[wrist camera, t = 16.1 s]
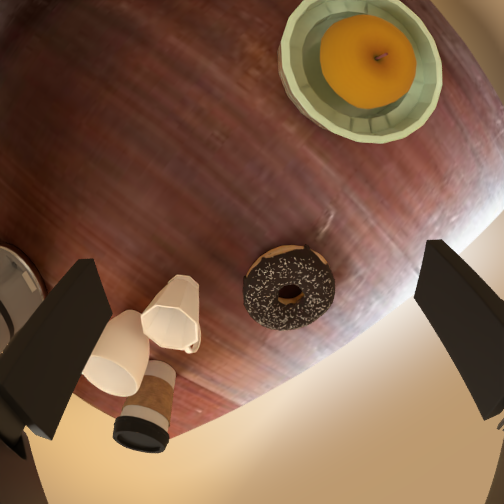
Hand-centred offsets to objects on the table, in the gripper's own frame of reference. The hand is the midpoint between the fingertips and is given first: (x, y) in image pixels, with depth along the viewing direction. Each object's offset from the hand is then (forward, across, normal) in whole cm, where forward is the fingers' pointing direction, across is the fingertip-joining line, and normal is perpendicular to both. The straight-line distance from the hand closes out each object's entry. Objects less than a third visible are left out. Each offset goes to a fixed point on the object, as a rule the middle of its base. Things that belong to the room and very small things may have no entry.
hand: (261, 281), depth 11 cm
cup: (+23, +10, +17) cm, 31 cm away
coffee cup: (+24, +18, +33) cm, 44 cm away
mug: (+24, +21, +22) cm, 39 cm away
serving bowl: (+23, -10, -10) cm, 27 cm away
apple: (+22, -10, -10) cm, 27 cm away
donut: (+23, -3, +15) cm, 28 cm away
